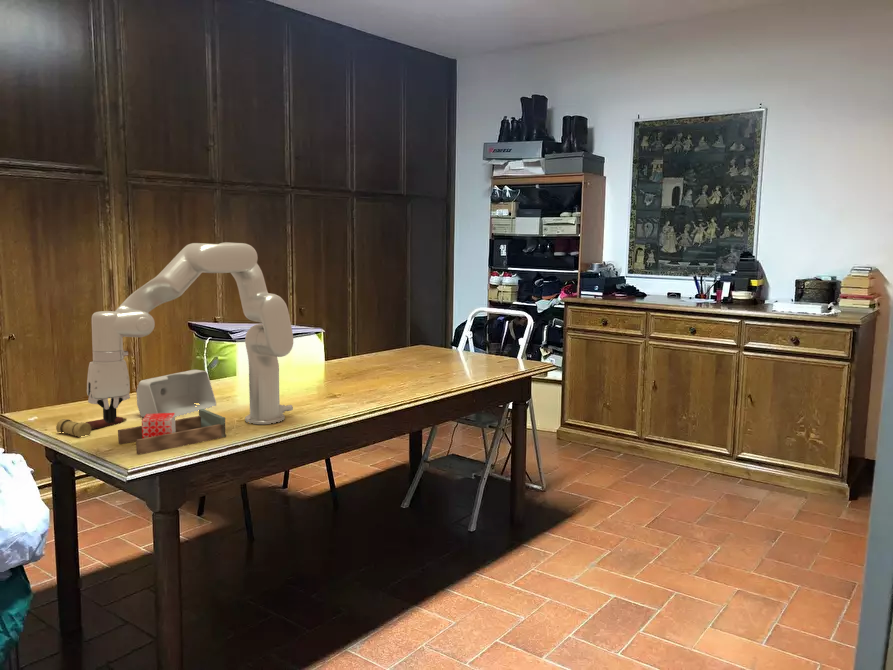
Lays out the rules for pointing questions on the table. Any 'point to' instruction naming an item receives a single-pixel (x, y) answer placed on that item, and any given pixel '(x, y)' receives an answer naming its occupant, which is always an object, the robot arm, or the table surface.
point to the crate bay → (177, 433)
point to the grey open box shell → (175, 393)
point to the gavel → (83, 426)
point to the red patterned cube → (158, 424)
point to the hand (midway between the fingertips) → (110, 422)
